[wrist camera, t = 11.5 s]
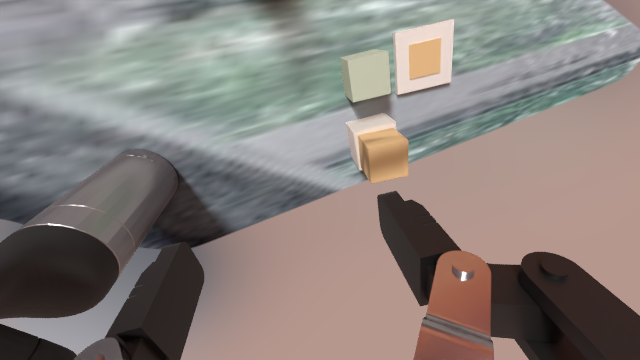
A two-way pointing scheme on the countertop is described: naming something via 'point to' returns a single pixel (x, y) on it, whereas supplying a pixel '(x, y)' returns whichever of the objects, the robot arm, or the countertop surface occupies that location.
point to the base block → (366, 131)
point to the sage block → (366, 75)
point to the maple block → (383, 155)
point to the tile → (423, 56)
